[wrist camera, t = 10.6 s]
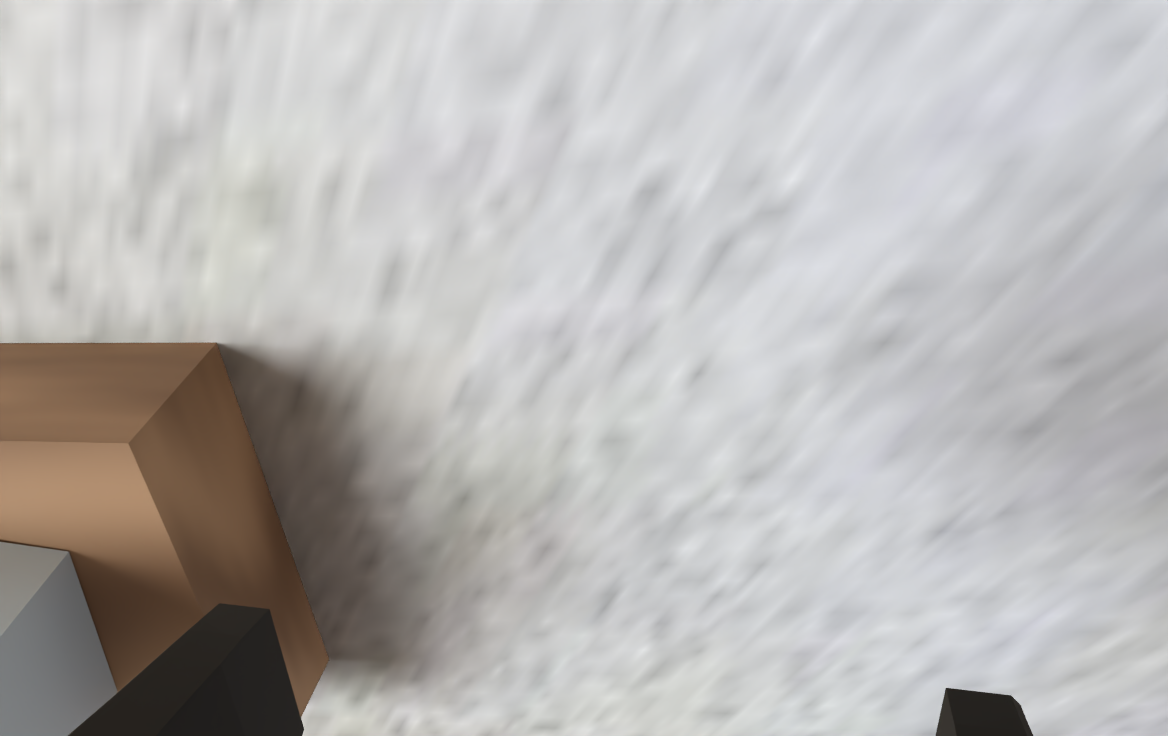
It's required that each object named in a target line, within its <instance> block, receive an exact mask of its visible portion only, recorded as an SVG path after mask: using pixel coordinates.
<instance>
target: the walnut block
mask: <svg viewBox="0 0 1168 736" xmlns="http://www.w3.org/2000/svg"><path fill="white" fill-rule="evenodd" d="M0 542H5V543H12V544H19V545H26V546H33V547H40V548H47V549H54V550H61V551H68V552H69V554H70V556H71V559H72V562H73V565H74V568H75V571H76V574H77V577H78V579H79V582H80V585H81V588H82V591H83V594H84V597H85V599H86V602H87V605H88V608H89V611H90V614H91V617H92V620H93V622H94V625H95V628H96V631H97V634H98V637H99V640H100V643H101V645H102V648H103V651H104V654H105V657H106V660H107V663H108V666H109V668H110V671H111V674H112V677H113V680H114V683H115V686H116V689H117V691H118V692H119V691H120V690H121V689H122V688H123V687H124V686H125V685H127V684H128V683H129V682H130V681H131V680H132V679H133V678H135V677H136V676H137V675H138V674H139V673H140V672H141V671H142V670H144V669H145V668H146V667H147V666H148V665H149V664H150V663H151V662H153V661H154V660H155V659H156V658H157V657H158V656H159V655H160V654H162V653H163V652H164V651H165V650H166V649H167V648H168V647H169V646H171V645H172V644H173V643H174V642H175V641H176V640H177V639H179V638H180V637H181V636H182V635H183V634H184V633H185V632H187V631H188V630H189V629H190V628H191V627H192V626H193V625H195V624H196V623H197V622H198V621H199V620H200V619H202V618H203V617H204V616H205V615H206V614H207V613H209V612H210V611H211V610H212V609H213V608H214V607H215V606H217V605H218V604H219V603H222V604H231V605H239V606H248V607H257V608H265V609H270V612H271V616H272V619H273V623H274V626H275V630H276V633H277V637H278V640H279V644H280V647H281V651H282V654H283V658H284V661H285V665H286V668H287V672H288V675H289V678H290V682H291V685H292V689H293V692H294V696H295V699H296V703H297V706H298V710H299V713H300V717H301V716H302V714H303V712H304V710H305V708H306V706H307V704H308V702H309V700H310V698H311V696H312V694H313V692H314V690H315V687H316V685H317V683H318V681H319V679H320V677H321V675H322V673H323V671H324V669H325V667H326V665H327V663H328V661H329V658H328V655H327V652H326V649H325V646H324V644H323V641H322V638H321V635H320V632H319V630H318V627H317V624H316V621H315V618H314V616H313V613H312V610H311V607H310V604H309V602H308V599H307V596H306V593H305V590H304V587H303V585H302V582H301V579H300V576H299V573H298V571H297V568H296V565H295V562H294V559H293V557H292V554H291V551H290V548H289V545H288V542H287V540H286V537H285V534H284V531H283V528H282V526H281V523H280V520H279V517H278V514H277V512H276V509H275V506H274V503H273V500H272V497H271V495H270V492H269V489H268V486H267V483H266V481H265V478H264V475H263V472H262V469H261V467H260V464H259V461H258V458H257V455H256V452H255V450H254V447H253V444H252V441H251V438H250V436H249V433H248V430H247V427H246V424H245V422H244V419H243V416H242V413H241V410H240V407H239V405H238V402H237V399H236V396H235V393H234V391H233V388H232V385H231V382H230V379H229V377H228V374H227V371H226V368H225V365H224V363H223V360H222V357H221V354H220V351H219V348H218V346H217V343H0ZM118 692H117V693H118Z"/></svg>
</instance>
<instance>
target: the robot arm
mask: <svg viewBox="0 0 1168 736" xmlns="http://www.w3.org/2000/svg"><path fill="white" fill-rule="evenodd" d="M303 731H304V727H303V724H302V720H301V717H300V713H299V710H298V706H297V703H296V699H295V696H294V692H293V689H292V685H291V682H290V678H289V675H288V672H287V668H286V665H285V661H284V658H283V654H282V651H281V647H280V644H279V640H278V637H277V633H276V630H275V626H274V623H273V619H272V616H271V612H270V609H265V608H257V607H248V606H239V605H231V604H222V603H219V604H218V605H217V606H215V607H214V608H213V609H212V610H211V611H210V612H209V613H207V614H206V615H205V616H204V617H203V618H202V619H200V620H199V621H198V622H197V623H196V624H195V625H193V626H192V627H191V628H190V629H189V630H188V631H187V632H185V633H184V634H183V635H182V636H181V637H180V638H179V639H177V640H176V641H175V642H174V643H173V644H172V645H171V646H169V647H168V648H167V649H166V650H165V651H164V652H163V653H162V654H160V655H159V656H158V657H157V658H156V659H155V660H154V661H153V662H151V663H150V664H149V665H148V666H147V667H146V668H145V669H144V670H142V671H141V672H140V673H139V674H138V675H137V676H136V677H135V678H133V679H132V680H131V681H130V682H129V683H128V684H127V685H125V686H124V687H123V688H122V689H121V690H120V691H119V692H118V693H116V694H115V695H114V696H113V697H112V698H111V699H110V700H108V701H107V702H106V703H105V704H104V705H103V706H102V707H100V708H99V709H98V710H97V711H96V712H95V713H93V714H92V715H91V716H90V717H89V718H88V719H86V720H85V721H84V722H83V723H82V724H80V725H79V726H78V727H77V728H76V729H75V730H73V731H72V732H71V733H70V734H69V735H68V736H302V734H303ZM936 736H1033V734H1032V732H1031V729H1030V727H1029V725H1028V722H1027V720H1026V718H1025V715H1024V713H1023V710H1022V708H1021V705H1020V704H1019V703H1018V702H1017V701H1016V700H1015V699H1014V698H1013V697H1012V696H1011V695H1002V694H993V693H985V692H976V691H968V690H959V689H951V688H946V690H945V695H944V699H943V704H942V709H941V713H940V718H939V723H938V727H937V732H936Z"/></svg>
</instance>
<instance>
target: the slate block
mask: <svg viewBox="0 0 1168 736" xmlns="http://www.w3.org/2000/svg"><path fill="white" fill-rule="evenodd" d="M117 692H118V691H117V689H116V686H115V683H114V680H113V677H112V674H111V671H110V668H109V666H108V663H107V660H106V657H105V654H104V651H103V648H102V645H101V643H100V640H99V637H98V634H97V631H96V628H95V625H94V622H93V620H92V617H91V614H90V611H89V608H88V605H87V602H86V599H85V597H84V594H83V591H82V588H81V585H80V582H79V579H78V577H77V574H76V571H75V568H74V565H73V562H72V559H71V556H70V554H69V552H68V551H61V550H54V549H47V548H40V547H33V546H26V545H19V544H12V543H5V542H0V736H68V735H69V734H70V733H71V732H72V731H73V730H75V729H76V728H77V727H78V726H79V725H80V724H82V723H83V722H84V721H85V720H86V719H88V718H89V717H90V716H91V715H92V714H93V713H95V712H96V711H97V710H98V709H99V708H100V707H102V706H103V705H104V704H105V703H106V702H107V701H108V700H110V699H111V698H112V697H113V696H114V695H115V694H116V693H117Z"/></svg>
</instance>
